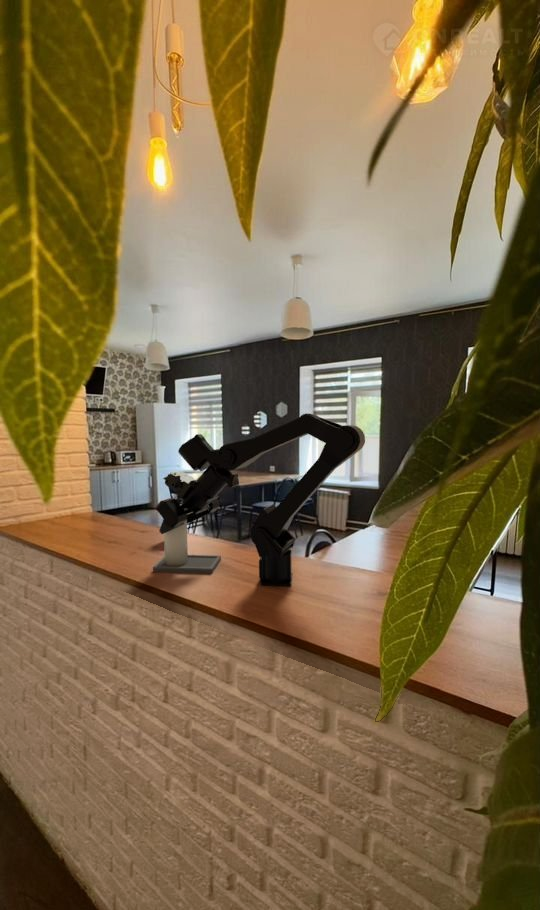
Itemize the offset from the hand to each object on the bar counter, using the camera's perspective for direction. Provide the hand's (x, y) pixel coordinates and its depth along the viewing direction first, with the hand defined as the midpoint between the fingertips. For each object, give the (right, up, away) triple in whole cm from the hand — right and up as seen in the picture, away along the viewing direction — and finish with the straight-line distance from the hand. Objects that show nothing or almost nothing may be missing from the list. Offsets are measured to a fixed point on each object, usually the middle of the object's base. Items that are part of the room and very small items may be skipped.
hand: (170, 528), depth 97 cm
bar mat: (+4, -9, 0) cm, 10 cm away
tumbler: (+1, -8, 0) cm, 8 cm away
